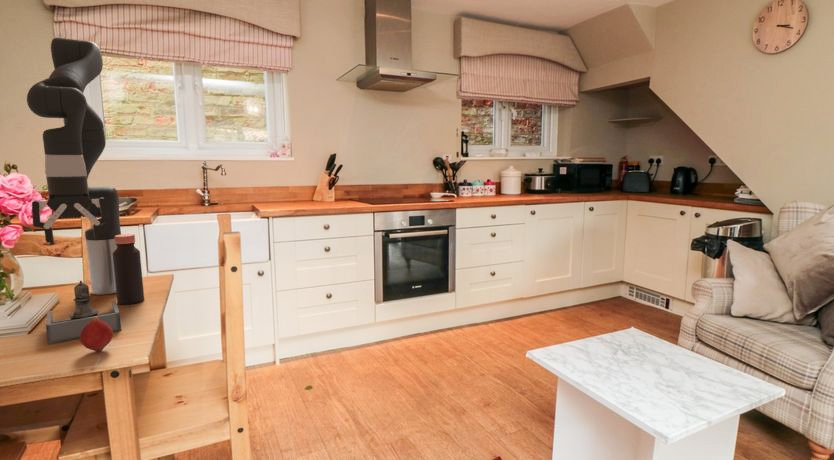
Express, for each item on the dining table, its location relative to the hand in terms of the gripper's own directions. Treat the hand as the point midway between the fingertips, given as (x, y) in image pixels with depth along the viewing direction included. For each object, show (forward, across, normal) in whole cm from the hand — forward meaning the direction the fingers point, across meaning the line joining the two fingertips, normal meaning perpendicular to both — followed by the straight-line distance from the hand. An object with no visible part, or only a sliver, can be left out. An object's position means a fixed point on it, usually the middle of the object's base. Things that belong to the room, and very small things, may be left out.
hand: (74, 242), depth 107 cm
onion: (+22, -2, +18) cm, 29 cm away
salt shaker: (+22, 0, 0) cm, 22 cm away
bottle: (+22, -12, -18) cm, 31 cm away
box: (+22, 0, 0) cm, 22 cm away
